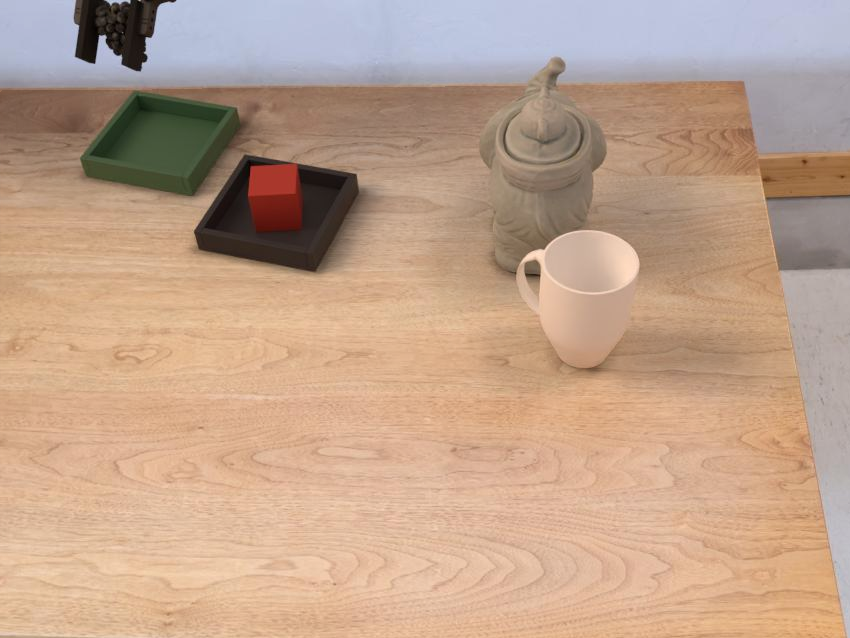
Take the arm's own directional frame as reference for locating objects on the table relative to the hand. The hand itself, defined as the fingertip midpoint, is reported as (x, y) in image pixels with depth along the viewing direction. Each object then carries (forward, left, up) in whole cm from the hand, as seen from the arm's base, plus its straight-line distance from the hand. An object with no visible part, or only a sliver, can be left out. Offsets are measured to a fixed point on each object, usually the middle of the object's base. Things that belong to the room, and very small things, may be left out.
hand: (108, 63), depth 115 cm
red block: (+17, -1, -15) cm, 23 cm away
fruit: (0, +4, -3) cm, 5 cm away
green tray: (-1, +7, -16) cm, 17 cm away
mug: (+52, -11, -16) cm, 56 cm away
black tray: (+17, -1, -16) cm, 24 cm away
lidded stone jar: (+45, +5, -16) cm, 48 cm away
